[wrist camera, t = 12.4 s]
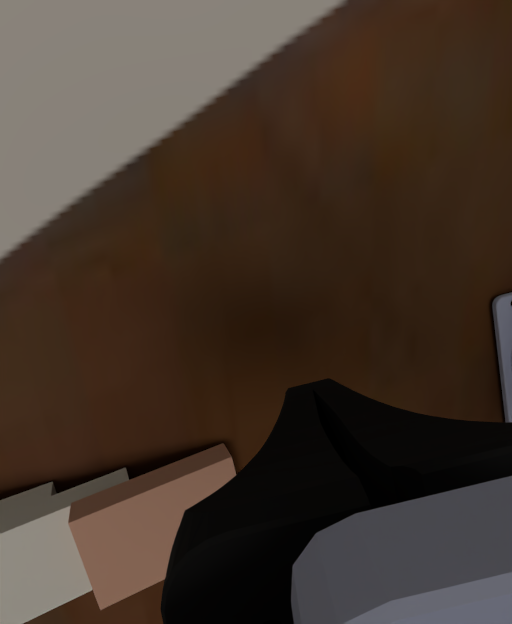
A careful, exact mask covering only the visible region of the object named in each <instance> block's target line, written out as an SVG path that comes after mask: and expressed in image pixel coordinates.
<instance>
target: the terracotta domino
mask: <svg viewBox="0 0 512 624" xmlns="http://www.w3.org/2000/svg"><path fill="white" fill-rule="evenodd" d="M235 476H236V471H235V468H234V464H233V460H232V456H231V455H230V453H229V451H228V450H227V448H226V446H225V445H224V443H222V444H219V445H217V446H214V447H212V448H209V449H207V450H204V451H202V452H199V453H197V454H194V455H191V456H189V457H186V458H184V459H181V460H179V461H176V462H174V463H171V464H169V465H166V466H164V467H161V468H158V469H156V470H153V471H151V472H148V473H146V474H143V475H141V476H138V477H136V478H133V479H131V480H128V481H125V482H123V483H120V484H118V485H115V486H113V487H110V488H108V489H105V490H103V491H100V492H98V493H95V494H92V495H90V496H87V497H85V498H82V499H80V500H77V501H75V502H72V503H71V507H70V513H69V520H68V525H69V527H70V530H71V533H72V535H73V538H74V541H75V543H76V546H77V549H78V551H79V554H80V557H81V559H82V562H83V565H84V567H85V570H86V573H87V575H88V578H89V581H90V584H91V586H92V589H93V592H94V594H95V597H96V600H97V602H98V605H99V608H100V610H101V609H104V608H106V607H108V606H110V605H112V604H114V603H116V602H118V601H120V600H122V599H124V598H126V597H128V596H131V595H133V594H135V593H137V592H139V591H141V590H143V589H145V588H147V587H149V586H151V585H153V584H155V583H158V582H160V581H162V580H164V579H165V577H166V572H167V567H168V562H169V558H170V554H171V550H172V546H173V543H174V540H175V537H176V534H177V531H178V528H179V526H180V523H181V520H182V517H183V514H184V512H185V510H186V509H188V508H190V507H192V506H193V505H195V504H197V503H198V502H200V501H201V500H203V499H204V498H206V497H208V496H209V495H211V494H212V493H214V492H215V491H217V490H218V489H220V488H221V487H222V486H223V485H225V484H226V483H227V482H229V481H230V480H231V479H232V478H233V477H235Z"/></svg>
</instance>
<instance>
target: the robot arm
mask: <svg viewBox="0 0 512 624" xmlns="http://www.w3.org/2000/svg"><path fill="white" fill-rule="evenodd" d="M511 301H512V292H511V293H507V294H503V295H500V296H497V297H496V298H495V299H494V301H493V304H492V308H493V317H494V326H495V334H496V343H497V352H498V361H499V369H500V378H501V387H502V396H503V404H504V413H505V423H498V422H478V421H464V420H454V419H447V418H441V417H434V416H428V415H423V414H418V413H414V412H410V411H407V410H403V409H399V408H396V407H392V406H389V405H387V404H384V403H381V402H378V401H376V400H373V399H371V398H368V397H366V396H364V395H362V394H359V393H357V392H355V391H353V390H351V389H349V388H347V387H345V386H343V385H341V384H339V383H337V382H335V381H333V380H331V379H329V378H328V379H324V380H320V381H316V382H312V383H308V384H304V385H300V386H296V387H292V388H288V390H287V391H286V395H285V400H284V404H283V407H282V410H281V412H280V415H279V417H278V420H277V422H276V424H275V426H274V428H273V430H272V432H271V434H270V436H269V437H268V439H267V441H266V442H265V444H264V445H263V447H262V448H261V450H260V451H259V452H258V453H257V454H256V455H255V457H254V458H253V459H252V460H251V461H250V462H249V463H248V464H247V465H246V466H245V467H244V468H243V469H242V470H241V471H240V472H239V473H238V474H237V475H236V476H235V477H233V478H232V479H231V480H230V481H229V482H227V483H226V484H225V485H223V486H222V487H221V488H220V489H218V490H217V491H215V492H214V493H212V494H211V495H209V496H208V497H206V498H204V499H203V500H201V501H200V502H198V503H197V504H195V505H193V506H192V507H190V508H188V509H186V510H185V512H184V514H183V517H182V520H181V523H180V526H179V528H178V531H177V534H176V537H175V540H174V543H173V546H172V550H171V554H170V558H169V562H168V567H167V572H166V577H165V582H164V586H163V593H162V601H161V614H162V619H163V624H512V306H511V305H510V304H511Z"/></svg>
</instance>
